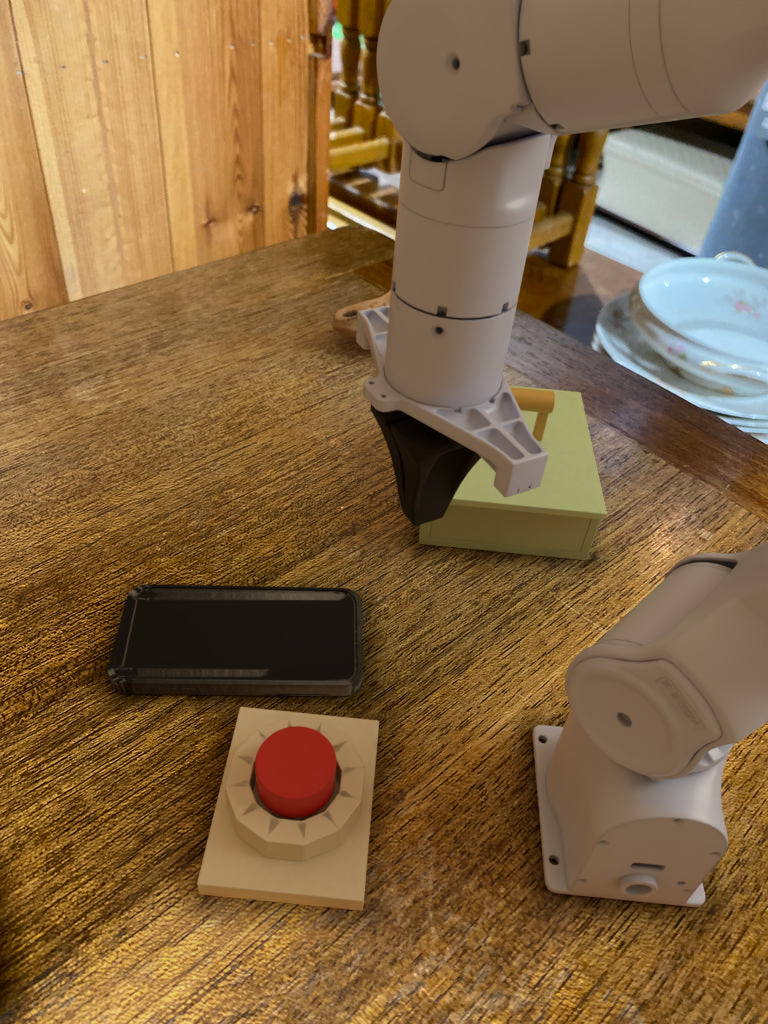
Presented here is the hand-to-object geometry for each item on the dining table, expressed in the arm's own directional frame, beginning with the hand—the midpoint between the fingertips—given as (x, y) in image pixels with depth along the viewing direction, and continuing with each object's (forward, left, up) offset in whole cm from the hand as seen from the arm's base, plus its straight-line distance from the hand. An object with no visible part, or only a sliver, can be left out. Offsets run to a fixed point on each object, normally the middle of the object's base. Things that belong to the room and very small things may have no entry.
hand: (423, 514), depth 44 cm
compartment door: (+15, -7, -6) cm, 18 cm away
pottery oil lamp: (+38, +3, -11) cm, 39 cm away
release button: (-13, +5, -8) cm, 16 cm away
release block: (-13, +5, -10) cm, 17 cm away
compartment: (+16, -7, -10) cm, 20 cm away
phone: (-2, +10, -10) cm, 15 cm away
